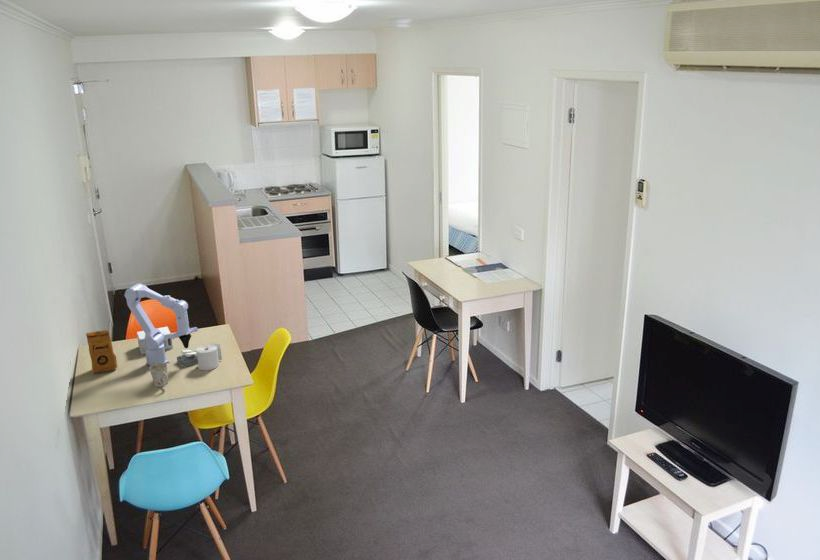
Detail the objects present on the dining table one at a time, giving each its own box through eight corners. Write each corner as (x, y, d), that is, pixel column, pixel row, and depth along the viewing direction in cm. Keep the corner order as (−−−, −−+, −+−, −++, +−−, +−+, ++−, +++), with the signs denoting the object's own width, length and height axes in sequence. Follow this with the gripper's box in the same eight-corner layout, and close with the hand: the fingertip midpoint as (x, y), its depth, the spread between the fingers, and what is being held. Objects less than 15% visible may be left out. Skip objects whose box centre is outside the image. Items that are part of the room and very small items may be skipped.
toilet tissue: (194, 370, 344) (192, 352, 341) (204, 360, 355) (202, 343, 352) (214, 370, 343) (212, 353, 339) (223, 360, 354) (221, 343, 351)
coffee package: (117, 371, 344) (110, 332, 337) (91, 375, 340) (83, 336, 333) (119, 364, 353) (112, 326, 346) (93, 367, 349) (86, 329, 342)
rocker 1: (183, 354, 351) (183, 351, 351) (181, 352, 353) (181, 350, 353) (193, 353, 355) (194, 351, 355) (191, 352, 357) (191, 349, 357)
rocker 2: (187, 356, 348) (187, 354, 348) (184, 355, 350) (184, 352, 350) (197, 355, 352) (197, 353, 352) (195, 354, 354) (195, 351, 354)
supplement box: (141, 355, 364) (139, 339, 361) (138, 346, 375) (136, 331, 372) (173, 348, 371) (171, 333, 368) (169, 340, 382) (167, 325, 379)
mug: (164, 378, 335) (161, 361, 332) (177, 385, 327) (175, 367, 324) (149, 385, 329) (146, 366, 325) (162, 392, 321) (159, 373, 318)
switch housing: (185, 367, 347) (183, 358, 345) (177, 362, 354) (176, 353, 352) (204, 360, 354) (203, 352, 353) (196, 355, 361) (195, 347, 359)
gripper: (173, 329, 336) (177, 353, 341) (199, 321, 346) (202, 345, 351) (167, 326, 341) (170, 350, 345) (192, 318, 351) (195, 341, 355)
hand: (186, 347), depth 348 cm, fingers closed
